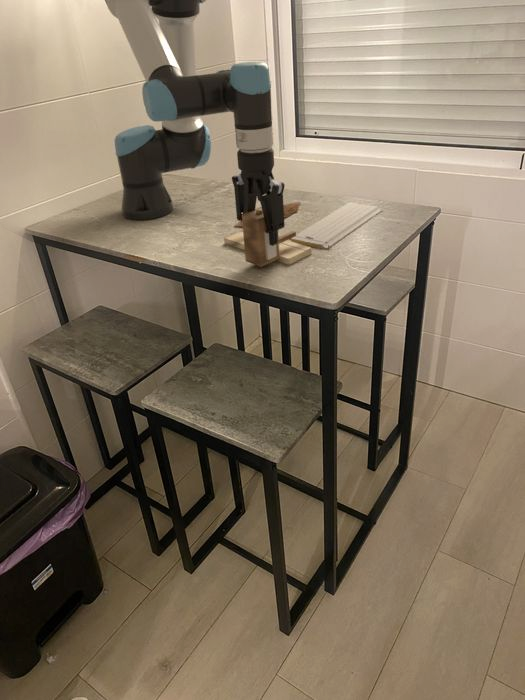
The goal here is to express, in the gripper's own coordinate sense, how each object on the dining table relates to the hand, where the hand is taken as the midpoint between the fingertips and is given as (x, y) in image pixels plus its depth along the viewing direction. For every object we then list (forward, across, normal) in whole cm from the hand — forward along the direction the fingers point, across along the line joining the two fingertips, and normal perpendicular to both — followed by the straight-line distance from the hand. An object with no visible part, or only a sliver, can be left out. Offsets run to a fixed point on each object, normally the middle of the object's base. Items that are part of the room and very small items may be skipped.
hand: (262, 254), depth 121 cm
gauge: (+1, 0, +4) cm, 4 cm away
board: (+3, -6, +8) cm, 10 cm away
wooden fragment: (+3, -22, +26) cm, 34 cm away
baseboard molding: (+3, 0, +30) cm, 31 cm away
